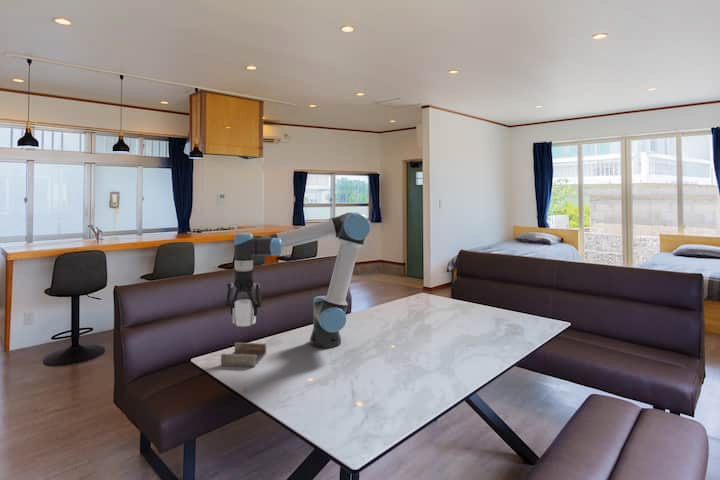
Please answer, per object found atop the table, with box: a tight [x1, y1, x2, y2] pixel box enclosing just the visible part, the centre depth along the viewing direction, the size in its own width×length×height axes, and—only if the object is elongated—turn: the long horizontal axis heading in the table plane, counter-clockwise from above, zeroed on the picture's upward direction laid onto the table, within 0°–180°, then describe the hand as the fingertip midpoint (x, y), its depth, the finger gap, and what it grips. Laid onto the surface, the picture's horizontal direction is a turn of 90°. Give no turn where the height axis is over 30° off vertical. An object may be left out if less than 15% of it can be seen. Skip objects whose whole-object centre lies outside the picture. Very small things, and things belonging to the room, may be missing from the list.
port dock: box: [220, 342, 267, 368], centre depth 175 cm, size 14×16×4 cm
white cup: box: [234, 298, 253, 328], centre depth 173 cm, size 8×8×10 cm
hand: (244, 322), depth 174 cm, fingers closed on white cup, 8 cm apart
